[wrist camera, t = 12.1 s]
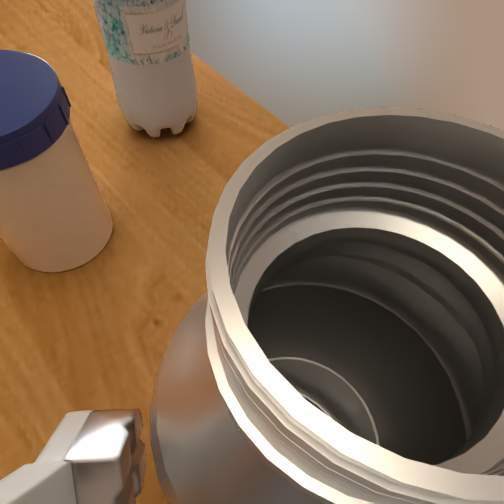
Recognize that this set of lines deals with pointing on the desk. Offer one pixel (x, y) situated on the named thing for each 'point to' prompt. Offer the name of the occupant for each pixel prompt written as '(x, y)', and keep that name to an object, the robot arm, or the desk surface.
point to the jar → (54, 208)
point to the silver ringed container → (346, 322)
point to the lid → (29, 107)
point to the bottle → (150, 62)
